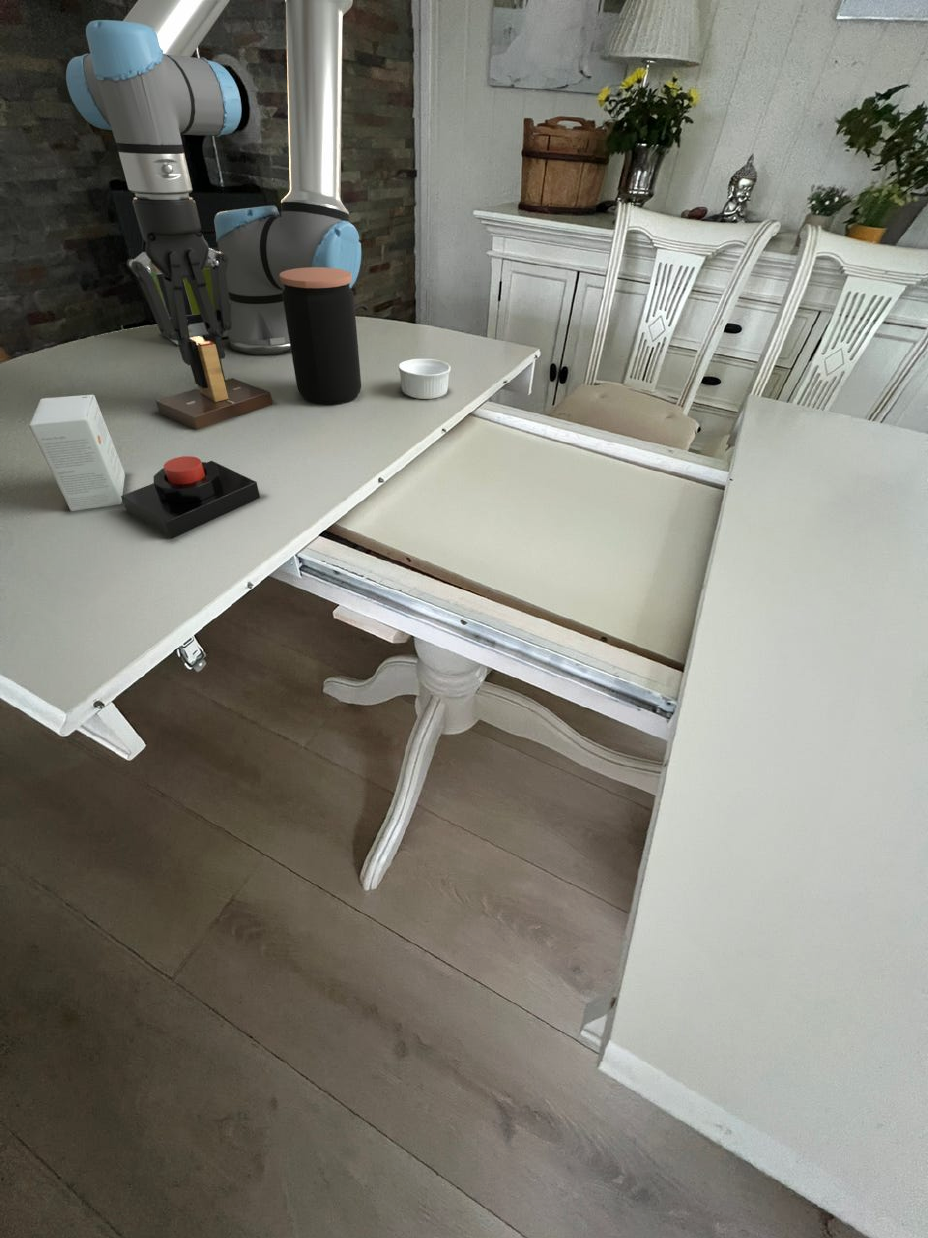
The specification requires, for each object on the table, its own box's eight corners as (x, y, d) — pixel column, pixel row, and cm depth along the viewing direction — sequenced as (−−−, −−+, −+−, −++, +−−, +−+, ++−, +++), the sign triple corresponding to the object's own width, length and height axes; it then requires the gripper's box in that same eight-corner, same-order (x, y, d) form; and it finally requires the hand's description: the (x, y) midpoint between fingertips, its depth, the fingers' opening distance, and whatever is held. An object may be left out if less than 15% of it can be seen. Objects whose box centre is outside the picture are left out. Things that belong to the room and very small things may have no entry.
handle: (199, 392, 90) (184, 336, 85) (213, 389, 92) (198, 334, 86) (215, 402, 87) (200, 345, 82) (228, 398, 89) (215, 342, 83)
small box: (77, 481, 71) (39, 397, 65) (126, 475, 73) (94, 392, 66) (69, 512, 66) (26, 424, 59) (122, 505, 67) (86, 418, 61)
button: (192, 466, 68) (187, 452, 67) (212, 476, 66) (208, 462, 65) (161, 478, 65) (156, 464, 64) (181, 489, 64) (176, 475, 62)
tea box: (230, 324, 128) (212, 247, 118) (248, 335, 122) (231, 254, 112) (160, 334, 120) (136, 252, 111) (176, 346, 114) (152, 261, 105)
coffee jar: (368, 386, 100) (359, 268, 89) (353, 408, 92) (341, 282, 81) (309, 382, 101) (292, 265, 89) (289, 404, 93) (268, 278, 81)
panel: (234, 389, 97) (231, 376, 96) (272, 404, 93) (270, 390, 92) (159, 413, 89) (154, 399, 87) (197, 430, 84) (193, 415, 83)
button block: (215, 476, 74) (207, 446, 71) (260, 498, 70) (253, 468, 67) (127, 512, 66) (114, 481, 64) (171, 539, 62) (159, 507, 60)
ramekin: (440, 381, 104) (440, 356, 101) (457, 397, 98) (458, 371, 95) (393, 385, 101) (392, 360, 98) (408, 403, 95) (407, 376, 92)
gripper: (110, 200, 67) (171, 401, 82) (232, 195, 75) (267, 379, 90) (88, 194, 71) (151, 387, 86) (207, 190, 79) (244, 367, 94)
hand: (210, 382), depth 88 cm, fingers closed on handle, 2 cm apart
